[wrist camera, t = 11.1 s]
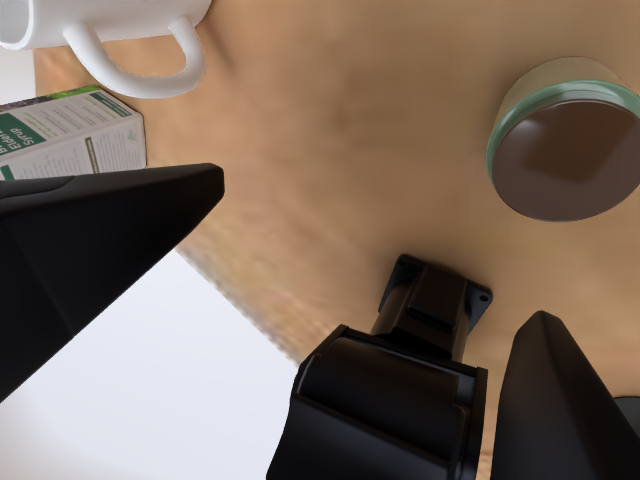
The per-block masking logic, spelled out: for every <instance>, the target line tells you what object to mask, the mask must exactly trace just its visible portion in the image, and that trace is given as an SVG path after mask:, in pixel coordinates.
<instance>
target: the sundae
mask: <svg viewBox="0 0 640 480" xmlns="http://www.w3.org/2000/svg"><path fill="white" fill-rule="evenodd" d="M614 400H615V401H616V403H617V404H618V406H619V407H620V409H621V410H622V412H623V413H624V415H625V416H626V418H627V419H628V421H629V422H630V424H631V425H632V427H633V428H634V430H635V431H636V433H637V434H638V436H639V437H640V398H636V397H623V398H617V399H614Z"/></svg>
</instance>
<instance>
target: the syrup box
mask: <svg viewBox="0 0 640 480" xmlns="http://www.w3.org/2000/svg"><path fill="white" fill-rule="evenodd" d="M145 166H146V148H145V136H144V126H143V116H142V115H141V114H140V113H138V112H135V111H134V110H132V109H131V108H129V107H128V106H126V105H125V104H123V103H122V102H120V101H119V100H117V99H116V98H114V97H113V96H111V95H110V94H108V93H106V92H105V91H103V90H102V89H100V88H99V87H97V86H96V85H91V86H87V87H82V88H78V89H73V90H68V91H64V92H59V93H54V94H50V95H46V96H41V97H37V98H32V99H27V100H22V101H18V102H13V103H9V104H4V105H0V180H18V179H35V178H48V177H60V176H71V175H76V176H77V175H82V174H93V173H104V172H115V171H126V170H137V169H142V168H144V167H145Z"/></svg>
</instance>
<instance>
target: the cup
mask: <svg viewBox="0 0 640 480" xmlns="http://www.w3.org/2000/svg"><path fill="white" fill-rule="evenodd" d="M211 1H212V0H0V46H2V47H5V48H7V49H11V50H27V49H37V48H47V47H56V46H66V45H70V46H71V48H72V50H73V51H74V53H75V54H76V56H77V57H78V59H79V60H80V61H81V63H82V64H83V65H84V66H85V68H86V69H87V70H88V71H89V72H90V74H91V75H92V76H93V77H94V78H95V79H97V80H98V81H99V82H100V83H101V84H103V85H104V86H106V87H107V88H109V89H111V90H113V91H115V92H117V93H120V94H123V95H126V96H130V97H135V98H143V99H161V98H169V97H174V96H178V95H181V94H184V93H187V92H189V91H191V90H192V89H194V88H195V87H197V86H198V85H199V84H200V83H201V81H202V79H203V78H204V75H205V72H206V56H205V51H204V48H203V45H202V42H201V40H200V38H199V36H198V34H197V32H196V30H195V28H194V27H195V26H196V25H197V24H198V23H199V22H200V21H201V20H202V19H203V17H204V16H205V14H206V12H207V11H208V9H209V6H210V4H211ZM164 35H174V37H175V38H176V40H177V41H178V43H179V45H180V46H181V48H182V50H183V52H184V54H185V57H186V61H187V63H186V67H185V68H184V69H183V70H182V71H180V72H178V73H175V74H172V75H167V76H141V75H136V74H132V73H129V72H127V71H125V70H123V69H121V68H120V67H119V66H117V65H116V64H115V63H114V61H113V60H112V59H111V57H110V56H109V54H108V53H107V51H106V50H105V48H104V46H103V44H102V43H101V42H105V41H115V40H125V39H135V38H145V37H155V36H164Z"/></svg>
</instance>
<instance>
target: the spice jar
mask: <svg viewBox="0 0 640 480" xmlns="http://www.w3.org/2000/svg"><path fill="white" fill-rule="evenodd" d="M485 160H486V169H487V173H488V176H489V178H490V180H491V182H492V184H493V186H494V187H495V190H496V191H497V193H498V195H499V196H500V198H501V199H502V200H503V201H504V202H505V203H506V204H507V205H508V206H509V207H511V208H512V209H513V210H515V211H516V212H518V213H520V214H522V215H524V216H527V217H529V218H533V219H536V220H541V221H547V222H569V221H576V220H581V219H586V218H589V217H592V216H595V215H598V214H600V213H603V212H605V211H607V210H609V209H611V208H613V207H614V206H616V205H617V204H619V203H620V202H622V201H623V200H624V199H626V198H627V197H628V196H629V195H630V194H631V193H632V192H633V191H634V190H635V189H636V188H637V187H638V186H639V184H640V97H639V96H638V95H637V94H636V93H635V92H634V91H633V90H632V89H631V88H630V87H629V86H628V85H627V84H626V83H624V82H623V81H622V80H621V79H620V78H619V77H618V76H617V75H616V74H615V73H614V72H613V71H612V70H611V69H610V68H609V67H607V66H606V65H604V64H603V63H601V62H599V61H596V60H593V59H590V58H585V57H564V58H558V59H554V60H551V61H548V62H545V63H543V64H541V65H538V66H536V67H535V68H533V69H531V70H530V71H528V72H527V73H525V74H524V75H523V76H521V77H520V78H519V79H518V80H517V81H516V82H515V83H514V84H513V85H512V86H511V88H510V89H509V90H508V92H507V93H506V95H505V96H504V98H503V100H502V102H501V105H500V108H499V111H498V114H497V117H496V120H495V123H494V126H493V129H492V132H491V134H490V137H489V140H488V144H487V148H486V156H485Z"/></svg>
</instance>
